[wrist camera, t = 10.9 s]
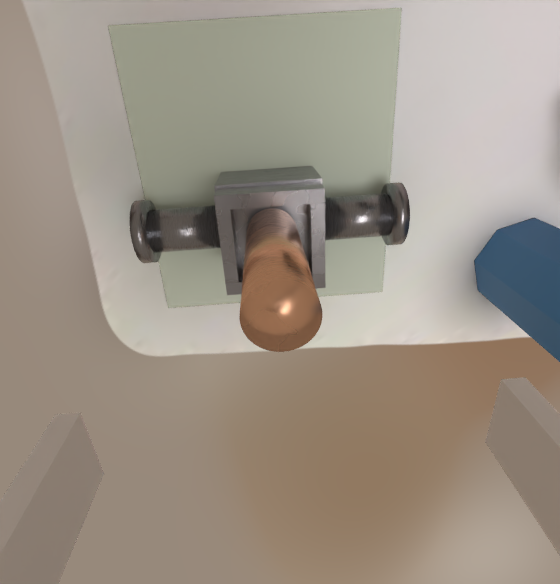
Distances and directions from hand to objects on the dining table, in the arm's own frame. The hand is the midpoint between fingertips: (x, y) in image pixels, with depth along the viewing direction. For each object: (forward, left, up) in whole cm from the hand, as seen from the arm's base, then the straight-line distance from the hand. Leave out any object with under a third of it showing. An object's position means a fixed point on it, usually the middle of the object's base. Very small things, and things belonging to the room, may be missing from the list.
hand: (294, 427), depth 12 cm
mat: (-3, 0, -26) cm, 27 cm away
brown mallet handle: (0, 0, -20) cm, 20 cm away
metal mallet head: (+2, 0, -26) cm, 26 cm away
